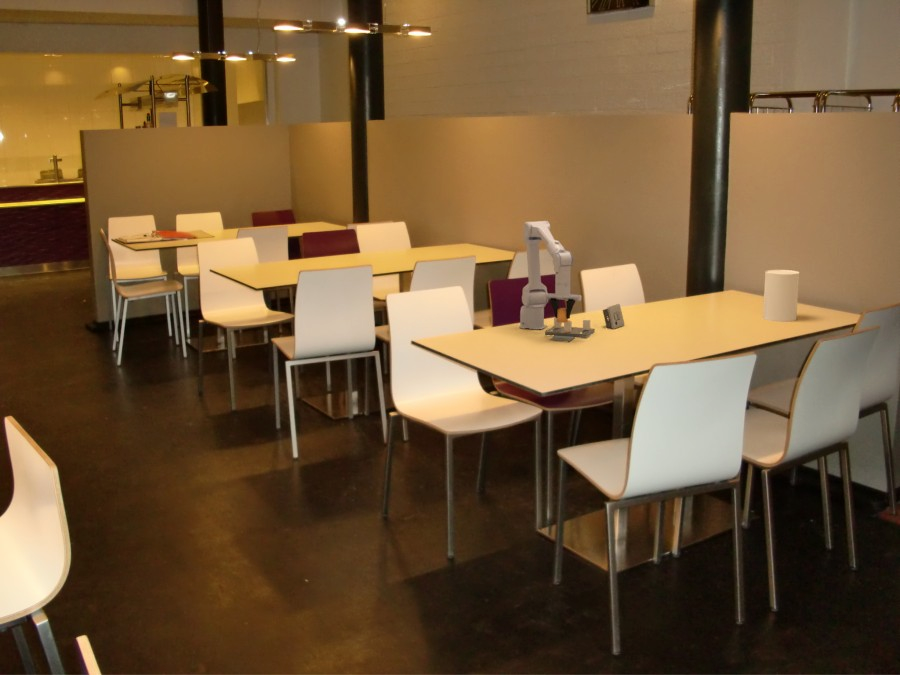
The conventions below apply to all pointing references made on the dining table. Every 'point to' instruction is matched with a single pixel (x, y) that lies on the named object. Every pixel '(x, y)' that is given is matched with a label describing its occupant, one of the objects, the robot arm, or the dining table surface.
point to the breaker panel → (574, 333)
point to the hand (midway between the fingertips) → (562, 318)
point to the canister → (780, 295)
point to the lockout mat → (562, 338)
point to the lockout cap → (562, 315)
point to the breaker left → (557, 323)
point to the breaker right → (586, 324)
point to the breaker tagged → (568, 326)
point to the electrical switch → (613, 316)
